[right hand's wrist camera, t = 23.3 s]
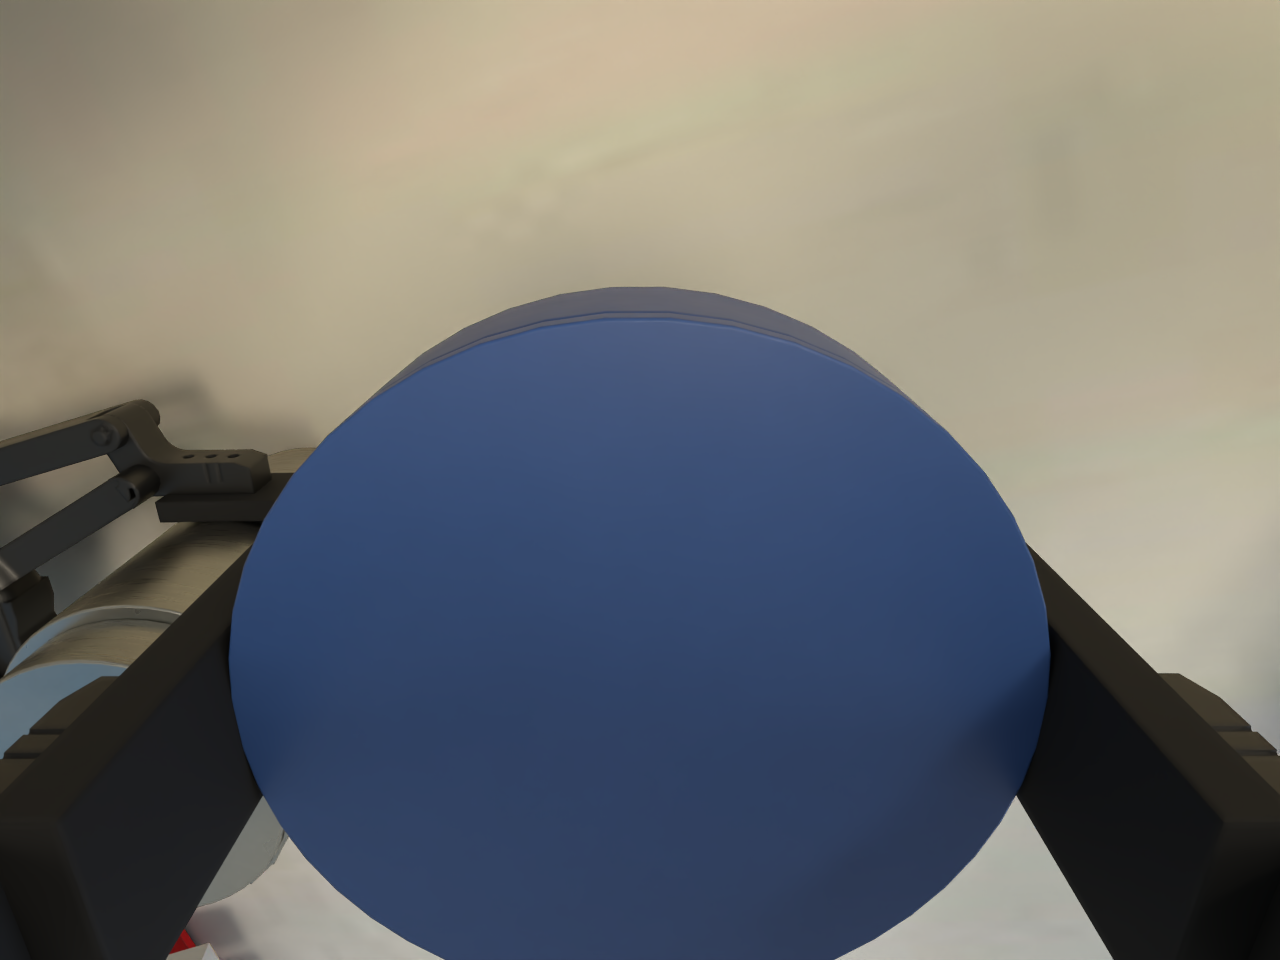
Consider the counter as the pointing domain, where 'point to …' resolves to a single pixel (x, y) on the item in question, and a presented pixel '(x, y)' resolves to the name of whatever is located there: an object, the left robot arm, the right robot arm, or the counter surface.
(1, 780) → the right robot arm
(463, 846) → the lid
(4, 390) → the counter surface
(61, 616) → the jar
